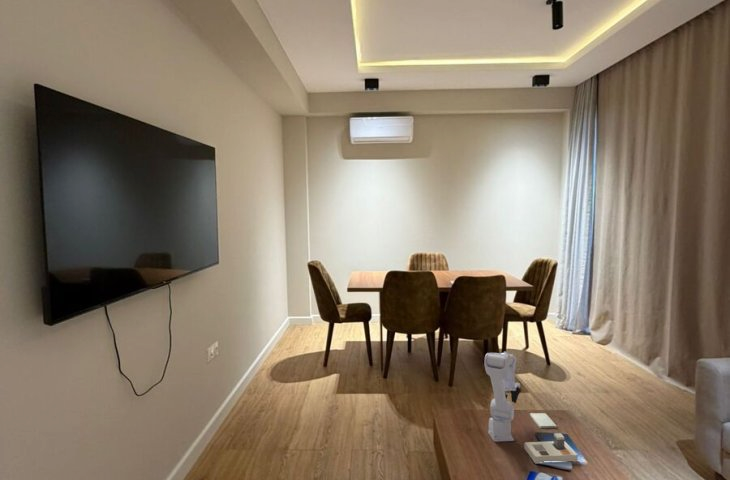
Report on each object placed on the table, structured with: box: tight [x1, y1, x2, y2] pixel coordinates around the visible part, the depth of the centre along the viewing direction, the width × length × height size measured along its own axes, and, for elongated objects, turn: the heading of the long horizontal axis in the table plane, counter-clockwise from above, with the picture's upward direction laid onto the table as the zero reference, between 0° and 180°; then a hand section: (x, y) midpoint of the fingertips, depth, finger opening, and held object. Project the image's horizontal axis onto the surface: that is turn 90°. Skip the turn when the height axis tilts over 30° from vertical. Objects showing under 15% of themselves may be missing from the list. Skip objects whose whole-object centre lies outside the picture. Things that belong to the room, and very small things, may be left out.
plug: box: [553, 432, 565, 450], centre depth 163 cm, size 3×3×8 cm
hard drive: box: [529, 412, 558, 429], centre depth 189 cm, size 2×8×12 cm
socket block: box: [524, 440, 579, 464], centre depth 162 cm, size 18×10×3 cm, turn 92°
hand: (508, 404), depth 188 cm, fingers open, 7 cm apart
